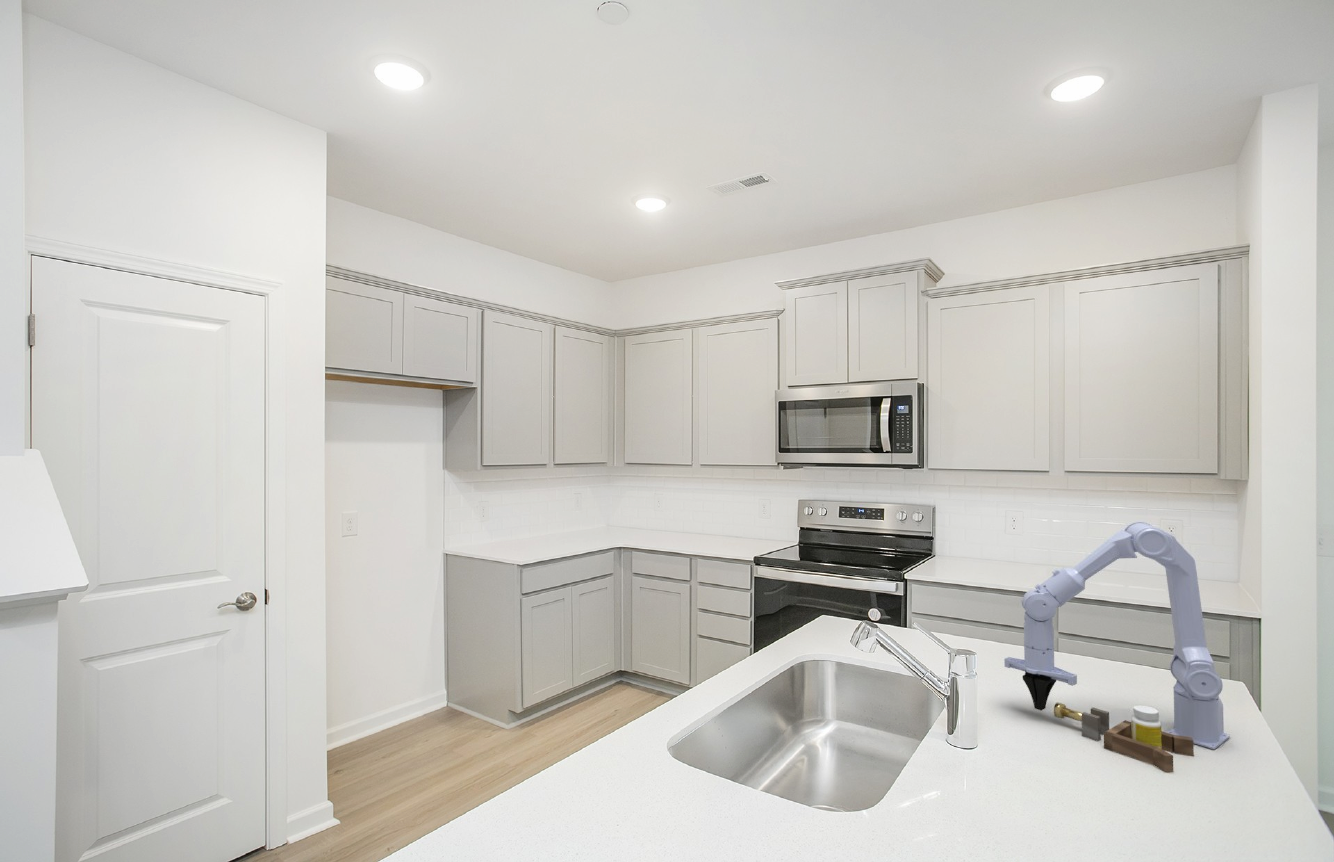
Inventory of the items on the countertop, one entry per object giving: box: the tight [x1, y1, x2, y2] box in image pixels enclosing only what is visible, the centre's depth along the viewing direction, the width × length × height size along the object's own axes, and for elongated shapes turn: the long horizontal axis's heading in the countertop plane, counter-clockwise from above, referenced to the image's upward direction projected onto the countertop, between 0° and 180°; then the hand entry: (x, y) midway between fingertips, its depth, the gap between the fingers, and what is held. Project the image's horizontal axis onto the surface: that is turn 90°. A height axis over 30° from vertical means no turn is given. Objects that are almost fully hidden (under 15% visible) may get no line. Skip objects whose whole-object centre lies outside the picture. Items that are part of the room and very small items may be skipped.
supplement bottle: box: [1130, 704, 1162, 749], centre depth 129 cm, size 5×5×8 cm
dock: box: [1081, 707, 1195, 773], centre depth 131 cm, size 13×16×5 cm
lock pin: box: [1053, 702, 1083, 723], centre depth 140 cm, size 3×7×3 cm, turn 35°
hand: (1040, 708), depth 146 cm, fingers closed
